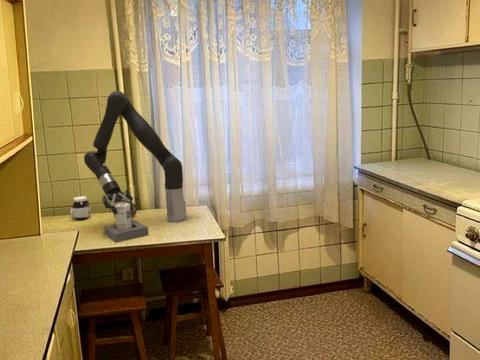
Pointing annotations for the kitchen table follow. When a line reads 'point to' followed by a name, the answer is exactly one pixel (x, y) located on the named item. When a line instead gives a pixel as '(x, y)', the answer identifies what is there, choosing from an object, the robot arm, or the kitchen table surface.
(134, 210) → the brown lumpy slab
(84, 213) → the spread jar
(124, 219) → the syrup box
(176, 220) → the robot arm
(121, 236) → the gray square frame
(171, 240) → the kitchen table surface
